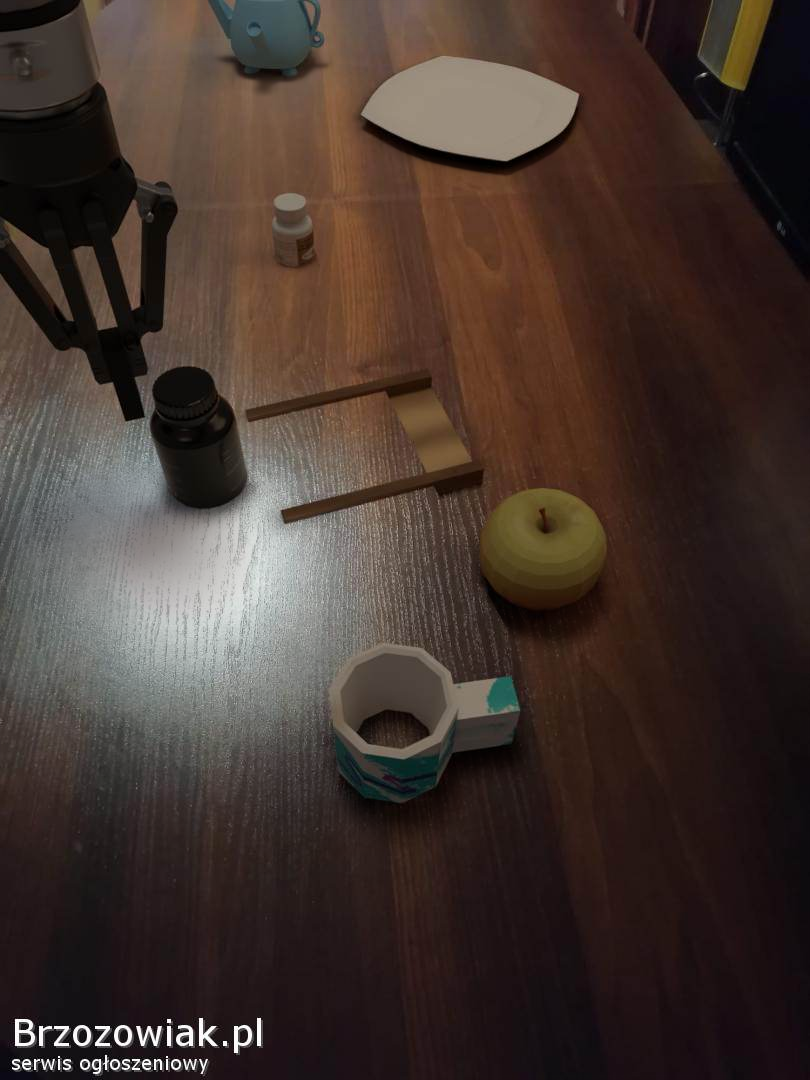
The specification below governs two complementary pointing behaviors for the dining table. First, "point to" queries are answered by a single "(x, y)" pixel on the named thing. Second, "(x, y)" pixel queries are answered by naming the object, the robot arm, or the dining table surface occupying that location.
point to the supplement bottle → (196, 439)
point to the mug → (431, 696)
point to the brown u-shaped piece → (422, 426)
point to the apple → (542, 549)
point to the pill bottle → (292, 231)
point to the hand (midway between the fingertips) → (132, 407)
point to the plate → (472, 108)
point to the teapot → (269, 32)
